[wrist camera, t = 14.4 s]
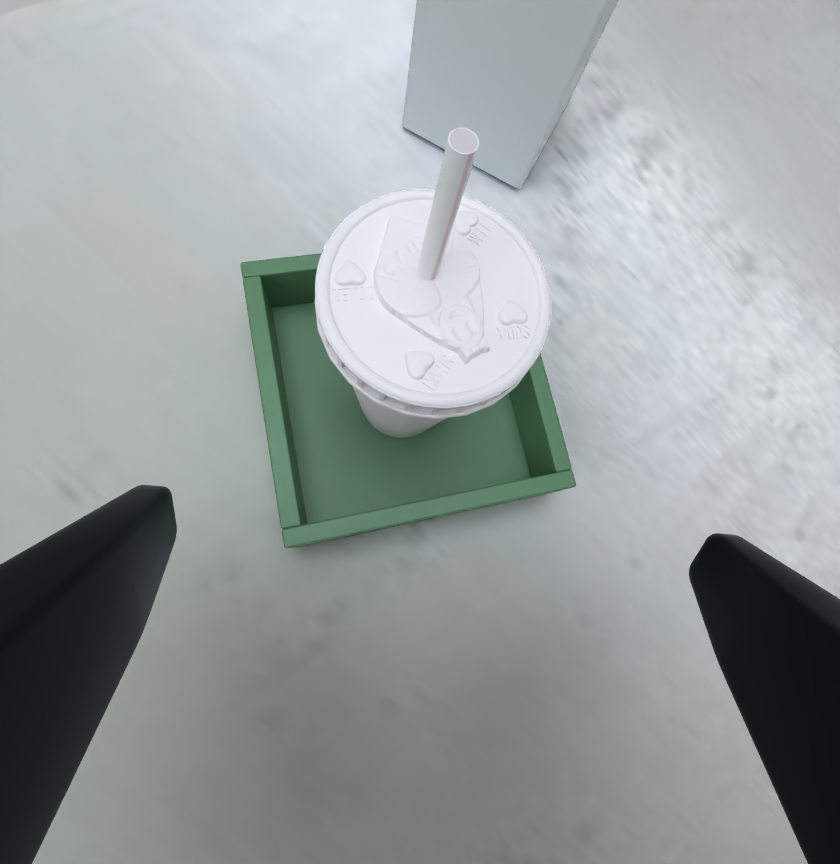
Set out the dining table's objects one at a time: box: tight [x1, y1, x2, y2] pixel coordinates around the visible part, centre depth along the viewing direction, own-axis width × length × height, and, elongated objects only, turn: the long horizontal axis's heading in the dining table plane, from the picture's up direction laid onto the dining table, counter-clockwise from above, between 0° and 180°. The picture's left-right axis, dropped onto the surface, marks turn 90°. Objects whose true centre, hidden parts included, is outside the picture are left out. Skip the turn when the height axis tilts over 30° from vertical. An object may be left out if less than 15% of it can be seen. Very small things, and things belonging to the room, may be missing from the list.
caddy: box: [241, 253, 576, 548], centre depth 21 cm, size 11×11×3 cm
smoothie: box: [315, 127, 552, 438], centre depth 15 cm, size 6×6×14 cm
